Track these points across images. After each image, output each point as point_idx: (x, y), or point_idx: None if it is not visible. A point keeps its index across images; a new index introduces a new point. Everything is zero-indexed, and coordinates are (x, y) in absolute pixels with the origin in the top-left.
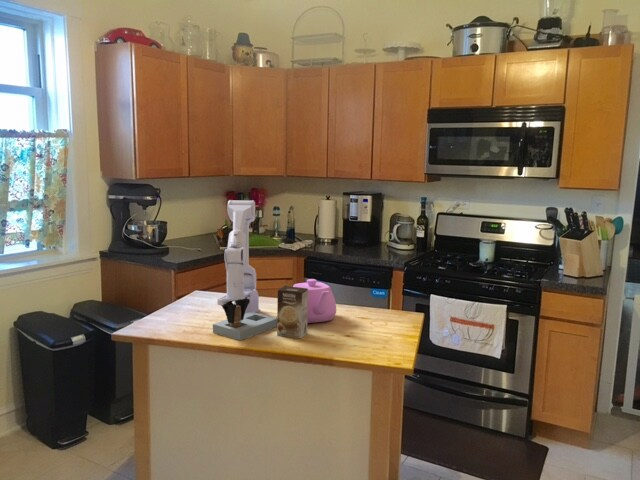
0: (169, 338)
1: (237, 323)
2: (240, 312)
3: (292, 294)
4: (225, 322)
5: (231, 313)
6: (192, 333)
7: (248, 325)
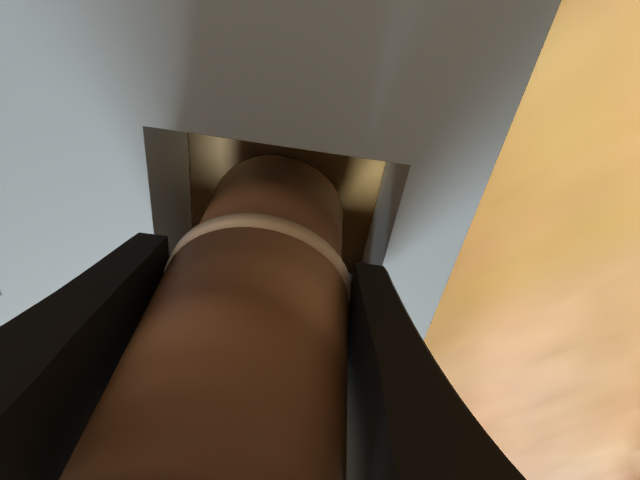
0: (615, 474)
1: (297, 224)
2: (183, 343)
3: None
4: None
5: (473, 421)
6: None
7: (177, 66)
